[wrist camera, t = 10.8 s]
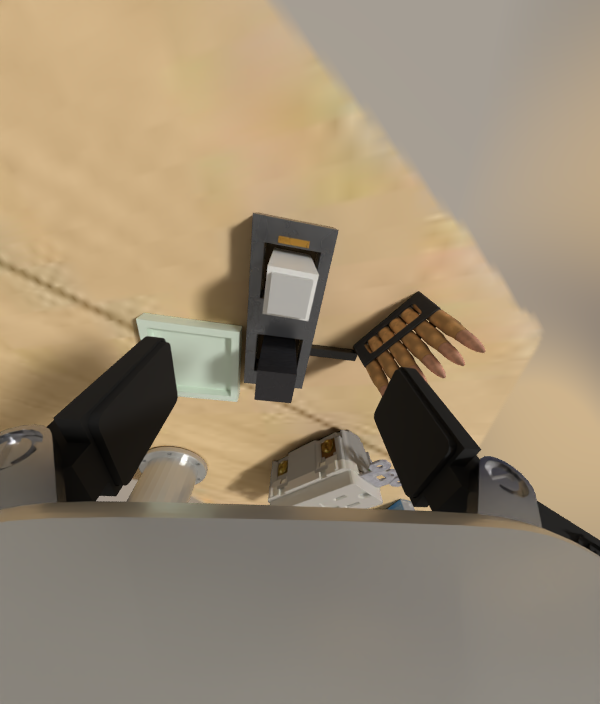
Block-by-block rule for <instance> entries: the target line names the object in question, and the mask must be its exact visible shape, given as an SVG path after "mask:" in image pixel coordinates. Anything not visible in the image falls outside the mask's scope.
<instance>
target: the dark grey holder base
mask: <svg viewBox="0 0 600 704" xmlns="http://www.w3.org/2000/svg"><path fill="white" fill-rule="evenodd" d="M337 235H338V230H337V229H335V228H333V227H328V226H323V225H318V224H312V223H307V222H302V221H297V220H292V219H287V218H282V217H277V216H272V215H267V214H262V213H253V222H252V241H251V260H250V279H249V298H248V317H247V336H246V355H245V373H244V383H252V384H256V389H255V400H264V401H274V402H285V403H291V401H292V396H293V392H294V388H300V389H302V385H303V381H304V377H305V372H306V368H307V364H308V359H309V355H311V356H319V357H327V358H335V359H343V360H351V361H355V360H356V357H357V353H356V351H355V350H351V349H343V348H335V347H328V346H320V345H312V342H313V338H314V334H315V329H316V325H317V321H318V316H319V312H320V308H321V304H322V299H323V295H324V291H325V286H326V282H327V278H328V273H329V269H330V265H331V261H332V256H333V252H334V248H335V243H336V239H337ZM266 243H271V244H277V245H282V246H288V247H293V248H299V249H304V250H310V251H315V252H317V255H316V260H315V267H316V269H317V272H318V274H319V277H318V281H317V286H316V290H315V294H314V299H313V303H312V307H311V312H310V316H309V320H308V321H304V320H298V319H292V318H285V317H279V316H273V315H267V314H262V313H263V304H264V295H265V290H263V278H264V266H265V255H266ZM259 334H263V335H264V338H263V343H262V348H261V353H260V358H257V349H258V337H259ZM295 339H300V341H299V346H298V352H297V357H296V341H295Z"/></svg>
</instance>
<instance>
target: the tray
mask: <svg viewBox="0 0 600 704" xmlns="http://www.w3.org/2000/svg"><path fill="white" fill-rule="evenodd" d="M136 322H137V326H138V330H139V335H140V339H141V340H142V339H143V338H144V337H146V336H151V337H159V338H164V339H165V341H166V342H168V343H170V346H171V352H172V359H173V366H174V373H175V380H176V386H177V393H178V396H180V397H191V398H201V399H212V400H223V401H233V402H237V401H238V398H239V394H240V370H241V345H242V326H238V325H231V324H223V323H216V322H209V321H201V320H194V319H186V318H179V317H172V316H164V315H157V314H149V313H143V314H142V315H140V316H139V317H138V318H136Z"/></svg>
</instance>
